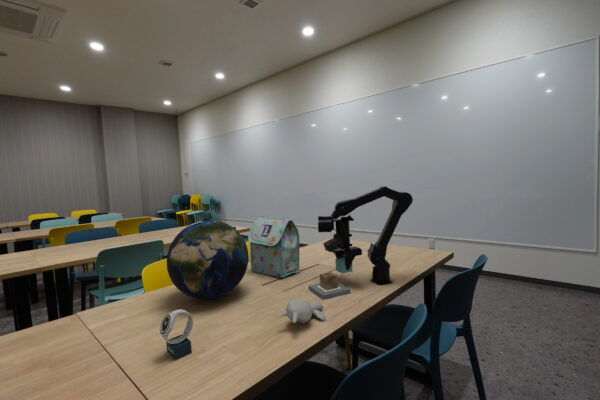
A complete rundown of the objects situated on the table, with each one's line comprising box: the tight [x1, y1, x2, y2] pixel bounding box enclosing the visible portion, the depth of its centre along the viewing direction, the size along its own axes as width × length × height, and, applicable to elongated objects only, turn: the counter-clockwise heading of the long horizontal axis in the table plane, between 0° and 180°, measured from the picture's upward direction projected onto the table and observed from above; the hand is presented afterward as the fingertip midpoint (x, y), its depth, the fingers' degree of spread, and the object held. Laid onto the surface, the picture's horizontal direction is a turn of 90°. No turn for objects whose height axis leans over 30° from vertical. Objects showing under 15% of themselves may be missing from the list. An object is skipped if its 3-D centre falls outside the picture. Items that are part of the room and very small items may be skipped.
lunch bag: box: [247, 216, 301, 278], centre depth 142 cm, size 23×16×27 cm
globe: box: [166, 219, 250, 301], centre depth 114 cm, size 30×30×30 cm
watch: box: [159, 308, 194, 361], centre depth 77 cm, size 6×8×11 cm
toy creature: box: [276, 297, 327, 325], centre depth 91 cm, size 13×7×20 cm
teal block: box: [334, 257, 353, 275], centre depth 123 cm, size 5×5×5 cm
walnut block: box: [319, 271, 339, 290], centre depth 115 cm, size 5×5×5 cm
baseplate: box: [308, 282, 352, 300], centre depth 115 cm, size 12×12×2 cm
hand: (344, 268), depth 123 cm, fingers closed on teal block, 5 cm apart
